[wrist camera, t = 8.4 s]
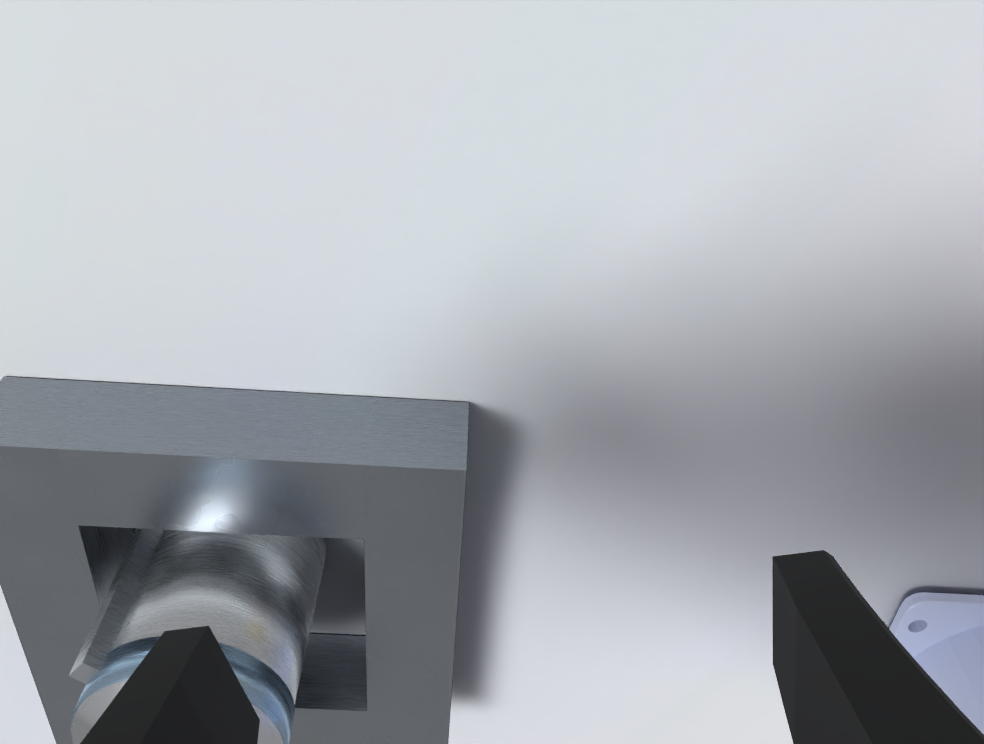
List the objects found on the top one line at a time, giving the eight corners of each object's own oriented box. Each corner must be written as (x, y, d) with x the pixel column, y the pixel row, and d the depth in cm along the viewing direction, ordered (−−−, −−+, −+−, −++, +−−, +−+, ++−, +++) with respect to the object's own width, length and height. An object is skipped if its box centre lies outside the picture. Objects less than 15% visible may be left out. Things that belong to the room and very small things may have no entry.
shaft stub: (361, 543, 24) (328, 743, 19) (264, 625, 26) (210, 827, 21) (204, 444, 22) (121, 640, 17) (111, 541, 24) (12, 742, 19)
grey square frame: (450, 687, 28) (447, 762, 26) (90, 672, 27) (57, 746, 25) (469, 402, 21) (466, 470, 19) (3, 376, 21) (-50, 443, 19)
